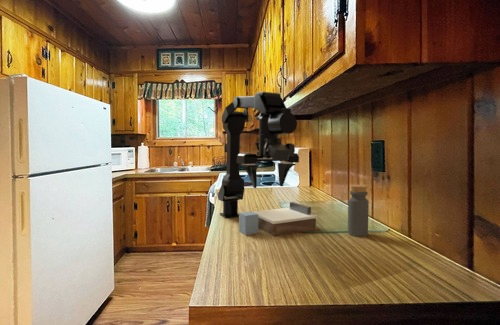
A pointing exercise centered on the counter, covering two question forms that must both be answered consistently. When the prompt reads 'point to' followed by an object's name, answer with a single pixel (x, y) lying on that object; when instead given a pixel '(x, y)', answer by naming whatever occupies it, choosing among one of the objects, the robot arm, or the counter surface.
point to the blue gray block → (248, 223)
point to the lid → (287, 214)
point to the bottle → (358, 211)
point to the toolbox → (286, 226)
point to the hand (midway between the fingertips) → (268, 187)
